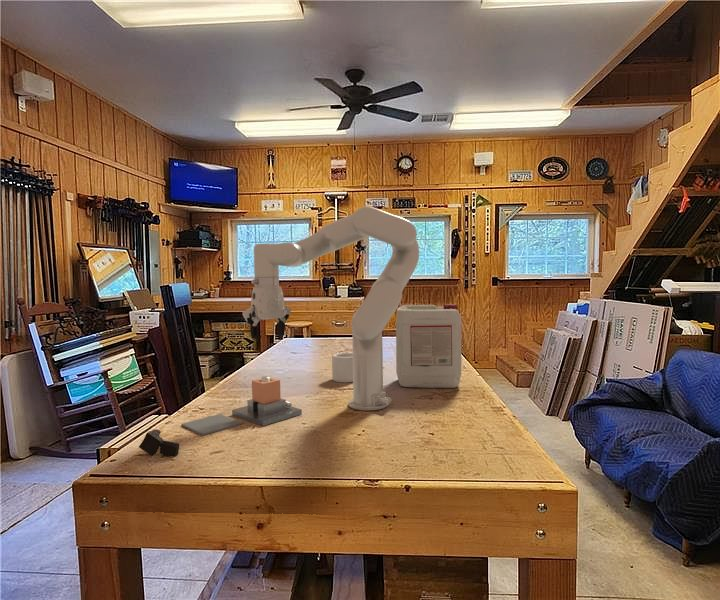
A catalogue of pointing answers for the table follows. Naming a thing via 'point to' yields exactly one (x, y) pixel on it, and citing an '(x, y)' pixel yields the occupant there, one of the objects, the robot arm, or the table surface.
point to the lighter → (158, 444)
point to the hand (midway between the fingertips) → (268, 336)
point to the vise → (267, 410)
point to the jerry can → (428, 346)
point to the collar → (266, 391)
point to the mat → (211, 424)
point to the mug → (342, 367)
